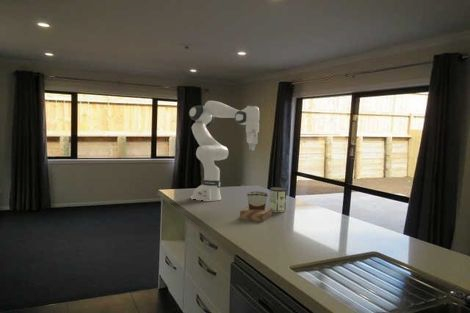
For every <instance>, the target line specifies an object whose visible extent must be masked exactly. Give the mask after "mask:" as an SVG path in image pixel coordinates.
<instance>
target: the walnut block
mask: <svg viewBox="0 0 470 313" xmlns="http://www.w3.org/2000/svg"><path fill="white" fill-rule="evenodd" d="M239 215H240V217H239V219H241V220H248V221H256V222H261V223H264V222H265V221H266V220H268V219H269V218H271V217H272V216H273V211H272V208H270V207H266V206H265V210H249V206H247V207H246V208H242V209H241V210H239Z"/></svg>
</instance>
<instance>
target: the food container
mask: <svg viewBox="0 0 470 313" xmlns="http://www.w3.org/2000/svg"><path fill="white" fill-rule="evenodd" d="M246 197H247V201H248V203H247V205H248V207H249V210H265V207H266V205H267V199H268V197H269V195H268V192H265V191H255V190H253V191H248V192H247V195H246Z"/></svg>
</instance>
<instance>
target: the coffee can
mask: <svg viewBox="0 0 470 313" xmlns="http://www.w3.org/2000/svg"><path fill="white" fill-rule="evenodd" d="M269 192H270V194H269V196H270V198H269V208H272V213H273V212H274V213H284V212H286V210H287V208H286V207H287V188H285V187H280V186H279V187H278V186H276V187H274V186H273V187H270V191H269Z"/></svg>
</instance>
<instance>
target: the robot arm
mask: <svg viewBox="0 0 470 313" xmlns="http://www.w3.org/2000/svg"><path fill="white" fill-rule="evenodd" d="M188 117H189V118H190V119H191V120H192V121H195V122H194V123H193V124H192V126H191V131H192V134H193V137H194V139H195V141H196V142H197V144H198V145H199V146H198V147H197V148H196V152H195V155H196V158H197V159H198V160H199V161H200V162H201V163H202V167H203V171H204V174H203V175H204V177H203V179H202V180H201V181H200V183H201V184H200V185H199V186H197V187H196V188H195V189H194V190H193V194H192V195H191V196H190V197H189V199H190V198H191V199H190V200H193V199H196V200H195V201H201V200H203V202H214V201H215V202H216V201H220V200H222V196H221V189H220V188H221V179H220V178H221V174H220V173H221V169H220V168H219V167H218V165H216V164H215V161H222V160H223V161H224V160H226V159H227V158H228V157H229V149H228V148H227V146H225V145H222V144H221V143H220V142H218V141H217V140H216V139H215V138H214V137H213V135H211V133H210V132H209V129H207V128H208V127H210V126H211V125H212V124H213V123H214V122H215V118H219V119H223V118H224V119H226V118H227V119H228V118H229V119H234V121H235V123H236V124H238V125H243V126H245V133H246V143H247V144H248V150H250V151H251V152H252V151H253V152H254V151H255V149H256V145H258V142H259V135H258V133H260V109H259V106H257V105H252V104H250V105H247V106H246V107H245V108H243V109H241V110H240V109H236V108H235V107H231V106H230V105H227V104H225V103H223V102H221V101H216V100H207V101H206V102H205V103H204V105H201V104H199V105H194V106H192V107H191V108H190V109H189V111H188Z"/></svg>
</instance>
